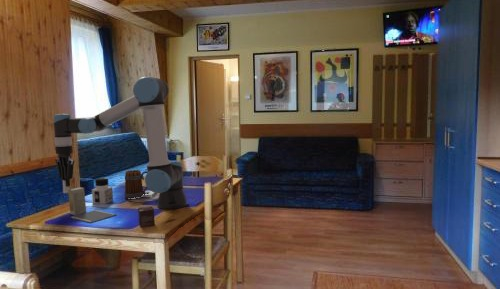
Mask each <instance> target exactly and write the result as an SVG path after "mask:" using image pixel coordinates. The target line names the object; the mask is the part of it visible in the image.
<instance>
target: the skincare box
mask: <svg viewBox="0 0 500 289" xmlns="http://www.w3.org/2000/svg"><path fill="white" fill-rule="evenodd" d="M67 194H68V203H69V212H70V215H73V216H75V215H79V214H83V213H86V212H87V206H86V194H85V188H84V187H81V186H79V187H75V188H70V189H69V190H68V193H67Z"/></svg>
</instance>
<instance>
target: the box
mask: <svg viewBox="0 0 500 289" xmlns="http://www.w3.org/2000/svg"><path fill="white" fill-rule="evenodd" d="M137 214H138V224H139V227H140V228H146V227H153V226H155V225H156V224H155V223H156V222H155V220H156V219H155V209H154V207H153V206H151V205H150V206H149V205H148V206H142V207H141V206H140V207H138V208H137Z"/></svg>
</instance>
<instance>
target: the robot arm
mask: <svg viewBox="0 0 500 289" xmlns="http://www.w3.org/2000/svg"><path fill="white" fill-rule="evenodd" d="M169 90H170V89H169V86H168V83H167V82H166V81H165V80H163V79H161V78H158V77H157V78H156V77H153V76H143V77H140V78H138V79H137V80H136V81H135V83H134V84H133V88H132V93H133V96H131V97H128V98H126V99H125V100H122V101H121V102H119V103H117V104H115V105H113V106H112V107H109V108H108V109H106V110H104V111H102V112H100V113H98V114H96V115H94V116H89V117H88V116H87V117H71V114H69V113H55V114H54V115H53V131H54V145H55V150H54V151H55V154H56V155H57V158H55V159H54V161H55V163H56V167H57V174H58V178H59V179H61V180H62V181H61V182H62V192H63V194H68V190H69V189H71V181H70V180H71V179H73V177H74V176H73V175H74V165H75V162H76V161H75V160H74V159H72V155H71V154H72V153H73V146H72V145H73V141H72V140H73V138H72V136H73V135H72V134H85V135H87V134H93V133H95V132H102V131H104V130H105V129H106V128H108V127H109V126H111V125H113V124H114V123H117V122H118V121H120V120H123V119H124V118H126V117H129V116H130V115H132V114H134V113H136V112H139V111H140V110H141V111H142V113H143V121H144V122H143V123H144V129H145V135H146V136H145V137H146V144H147V152H148V153H147V154H148V159H149V161H148V163H147V164H146V171H148V173H145V177H144V178H145V179H144V183H145V186H146V187H147V189H148V190H149V191H150V192H153V193H156V194H158V195H159V196H158V200H157V202H156V204H157V206H156V207H157V208H159V209H161V210H162V209H163V210H174V209H176V210H177V209H182V208H183V207H187V206H188V199H187V197H186V195H185V194H186V193H185V191H184V175H183V173H184V171H183V168H184V167H183V163H182V161H179V160H177V161H173V160H172V161H171V160H170V159H169V157H168V150H167V141H166V134H165V126H164V117H163V107H164V106H165V101H166V99H167V98H168V96H169V92H170V91H169Z"/></svg>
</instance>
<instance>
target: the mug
mask: <svg viewBox="0 0 500 289" xmlns="http://www.w3.org/2000/svg"><path fill="white" fill-rule="evenodd" d="M147 173H148V171H147V170H144V171H143V172H141V170H140V169H133V170H125V174H124V198H125V199H126V200H129V199H128V198H134V197H135V198H136V197H141V196H142V195H143V194H144V196H145V194H148V195H149V194H150V192H149V191H147V189H148V188H147V186H146V187H145V188H144V187H143V181H145V177H144V174H147ZM146 191H147V192H146Z"/></svg>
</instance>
